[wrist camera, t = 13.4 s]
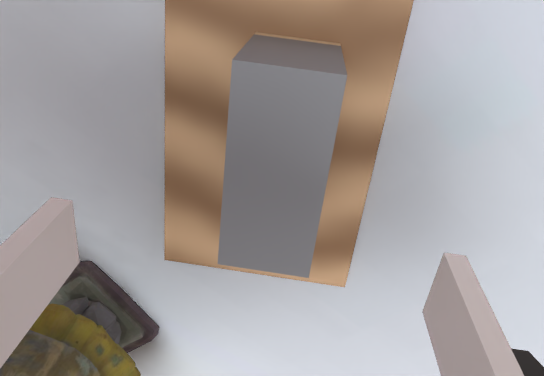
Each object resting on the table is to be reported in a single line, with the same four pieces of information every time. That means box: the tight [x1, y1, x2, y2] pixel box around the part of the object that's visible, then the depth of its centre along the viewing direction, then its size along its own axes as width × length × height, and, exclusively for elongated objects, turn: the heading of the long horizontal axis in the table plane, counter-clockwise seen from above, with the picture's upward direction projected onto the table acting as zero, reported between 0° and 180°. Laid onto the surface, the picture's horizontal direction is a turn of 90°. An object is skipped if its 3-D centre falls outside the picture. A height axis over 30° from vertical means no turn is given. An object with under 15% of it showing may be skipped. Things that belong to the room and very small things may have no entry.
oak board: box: [165, 0, 414, 287], centre depth 30 cm, size 24×14×1 cm, turn 173°
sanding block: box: [218, 32, 347, 278], centre depth 26 cm, size 11×5×8 cm, turn 173°
